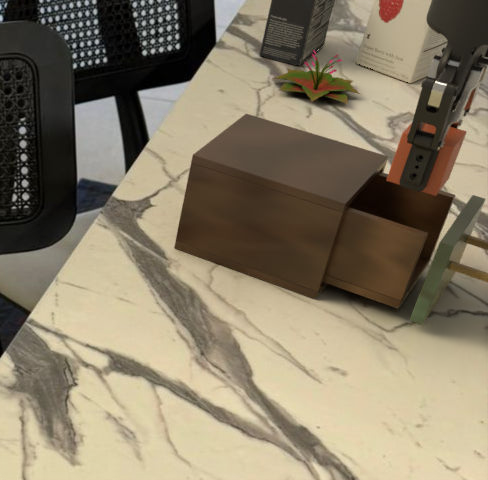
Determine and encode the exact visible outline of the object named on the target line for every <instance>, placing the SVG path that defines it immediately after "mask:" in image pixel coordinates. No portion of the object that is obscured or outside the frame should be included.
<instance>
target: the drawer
mask: <svg viewBox="0 0 488 480" xmlns="http://www.w3.org/2000/svg"><path fill="white" fill-rule="evenodd" d="M388 174H389V173H386V172H383V173H382V172H378V174H377V175H376V176H375V177H374V178H373V179H372V180H371V181H370V182H369V184H368V185H367V186H366V187H365V188H364V189H363V190H362V191H361V193H360V194H359V195H358V196H357V197H356V198H355V199H354V200H353V201H352V203H351V204H350V205H349V206H348V207H347V208H346V209H345V213H344V216H343V219H342V223H341V226H340V229H339V232H338V235H337V238H336V242H335V245H334V248H333V251H332V254H331V257H330V260H329V264H328V267H327V270H326V273H325V276H324V279H323V282H324V283H327V285H331V286H333V287H336V288H338V289H342V290H344V291H346V292H350V293H353V294H355V295H358V296H361V297H364V298H367V299H369V300H372V301H376V302H379V303H381V304H384V305H386V306H390V307H392V308H395V309H399V308H400V307H401V305H402V304H403V303H404V301H405V300H406V298H407V297H408V295H409V294H410V292H411V291H412V290H413V288H414V287H415V285H416V284H417V283H418V281H419V279H420V278H421V276H422V275H423V273H424V272H425V270H426V269H427V268H428V266H429V264H430V266H429V269H428V272H427V274H426V277H425V279H424V282H423V285H422V287H421V289H420V292H419V294H418V297H417V299H416V302H415V303H414V307H413V309H412V312H411V315H410V317H409V321H410V322H414V323H416V324H419V325H423V324H424V323H425V322H426V320H427V318H428V317H429V316H430V313H431V312H432V311H433V309H434V308H435V306H436V305H437V302H438V301H439V299H440V298H441V296H442V295H443V294H444V292H445V290H446V289H447V287H448V285H449V283H450V282H451V281H452V279H453V277H454V276H455V274H456V273H458V274H462V275H464V276H467V277H471V278H474V279H476V280H480V281H483V282H486V283H488V272H487V271H485V270H481V269H477V268H475V267H472V266H469V265H466V264H463V263H460V262H461V259H463V255H464V253H465V250H466V248H467V245H471V246H474V247H477V248H479V249H483V250H486V251H488V240H486V239H483V238H480V237H477V236H474V235H472V233H473V230H474V229H475V226H476V224H477V221H478V219H479V216H480V214H481V212H482V209H483V207H484V204H485V202H486V198H485V197H481V196H478V195H475V194H472V195H471V197H470V198H469V199H468V201H467V202H466V204H465V205H464V206H463V208H462V209H461V210H460V212H459V213H458V215H457V217H456V218H455V220H454V221H453V222H452V224H451V225H450V227H449V229H448V230H447V231H446V233H445V234H444V236H443V237H442V238H441V240H440V236H441V234H442V231H443V229H444V226H445V223H446V221H447V218H448V216H449V214H450V212H451V208H452V206H453V203H454V201H455V198H456V194H454V193H450V192H447V191H445V190H444V191H443V190H442V189H441V190H440V191H439V192H438V194H437V195H436V196H434V195H431V194H427V193H424V192H421V191H420V192H418V191H414V190H411V189H408V188H405V187H402V186H401V185H398V184H395V183H392V182H389V181H387V177H388ZM439 240H440V241H439ZM437 245H438V246H437ZM436 247H437V248H436ZM435 250H436V251H435ZM434 252H435V253H434ZM433 254H434V256H433ZM432 257H433V259H432ZM431 259H432V261H431ZM430 262H431V263H430Z"/></svg>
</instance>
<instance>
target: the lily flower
mask: <svg viewBox="0 0 488 480" xmlns="http://www.w3.org/2000/svg"><path fill="white" fill-rule="evenodd" d="M313 52H314V53H315V54H312V58H313V59H314V61H312V62H311V64H312V66H313V67H314V70H313V69H312V67H311V66H310V65H309V63H308V62H307V61H306V62H304V65H306V67H307V68H308V70H309V71H304V70H299V69H291V68H286V70H287V72H286V73H282V74H280V75H279V76H275V77H273V79H274V80H275V79H276V80H285V81H289V82H286V83H283V84H281V87H280V88H279V89H278V90H277V91H280V92H296V93H297V92H298V93H303V94H306V95H307V97H308V98H309V99H310V102H311V103H313V102H314V101H315V100H318V99H319V98H321V97H324V98H329V99H333V100H336V101H338V102H341V103H344V104H347V105H349V103H348V102H349V101H348V96H347V94H346V93H343V92H344V91H346V92H351V93H354V94H358V95H361V96H362V95H363V94H362V93H361V92H359V91H358V90H357V89H356V88H355V87H354V86H353V85H352V83H354V80H349V79H347V78H345V79H344V78H342V77H335V76H333V75H332V74H333V73H335V72H337V69H333V70H332V68H334V64H336V63H340V62H342V61H343V59H342V58H341V59H337V60H335V61H334V59H336V58H337V57H338V56H339V54H336V55H334V57H333V59H330V60H329V61H328V62H327V63H326V64H325V65H324V66H323V67H321V68H320V62H319V59H318V55H317V52H315V51H313ZM333 61H334V62H333ZM328 70H331V71H328Z"/></svg>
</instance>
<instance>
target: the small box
mask: <svg viewBox="0 0 488 480" xmlns="http://www.w3.org/2000/svg"><path fill="white" fill-rule="evenodd" d="M335 1H336V0H271V1H270V3H269V4H270V5H269V8H268V9H269V10H268V14H267V19H266V23H265V27H264V33H263V36H262V41H261V46H260V50H259V55H260V56H259V57H262V56H264V57H263V58H266V57H268V58H267V59H269V58H270V60H273V59H274V61H277V62H281V61H282V62H281V63H286V64H288V63H290V64H289V65H292V64H295V65H294V66H296V65H298V66H297V67H301V66H302V65H304V64H305V61H306V60H307V59H308V60H309V59H311V58H312V57H313V56H312V54H314V52H313V51H315V52H316V51H317V50H318V49H320V48H321V47H322V46H323V45H324V46H325V42H326V38H327V34H328V30H329V29H328V28H329V25H330V21H331V17H332V12H333V8H334V5H335ZM324 46H323V47H324ZM323 47H322V48H323ZM322 48H321V49H322ZM321 49H320V50H321ZM317 52H318V51H317ZM317 52H316V53H317ZM314 55H315V54H314ZM311 56H312V57H311ZM308 60H307V61H308ZM307 61H306V62H307Z"/></svg>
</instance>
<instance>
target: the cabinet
mask: <svg viewBox="0 0 488 480" xmlns="http://www.w3.org/2000/svg"><path fill="white" fill-rule="evenodd" d="M388 160H389V156H388V155H385V154H381V153H379V152H375V151H372V150H369V149H366V148H362V147H359V146H355V145H352V144H349V143H345V142H343V141H339V140H335V139H332V138H330V137H329V138H328V137H326V136H322V135H319V134H315V133H313V132H309V131H306V130H303V129H298V128H296V127H292V126H290V125H286V124H282V123H279V122H276V121H274V120H273V121H272V120H269V119H266V118H263V117H260V116H256V115H252V114H249V113H245V114H243V115H242V116H241V117H240V118H238V119H237V120H235V121H234V122H233V123H232V124H230V125H229V126H228V127H227V128H225V129H224V130H222V131H221V132H220V133H219V134H218V135H216V136H215V137H214V138H213V139H211V140H210V141H208V142H207V143H206V144H205V145H203V146H202V147H201V148H199V149H198V150H197V151H195V153H193V154H192V157H191V163H190V167H189V172H188V177H187V182H186V187H185V192H184V197H183V202H182V207H181V211H180V216H179V222H178V228H177V231H176V236H175V242H174V247H173V248H174V249H176V250H179V251H181V252H184V253H187V254H189V255H193V256H195V257H198V258H201V259H203V260H206V261H209V262H212V263H214V264H216V265H220V266H223V267H225V268H228V269H231V270H234V271H237V272H239V273H242V274H244V275H247V276H250V277H254V278H257V279H258V280H260V281H261V280H262V281H264V282H267V283H269V284H273V285H275V286H278V287H280V288H283V289H286V290H288V291H291V292H294V293H297V294H300V295H303V296H306V297H308V298H310V299H313V300H316V299H317V298H318V297H319V296H320V294H321V293H322V292H323V290H325V288H326V287H327V286H328V284H327V283H324V282H323V279H324V276H325V273H326V270H327V267H328V264H329V260H330V257H331V254H332V251H333V248H334V245H335V242H336V238H337V235H338V232H339V229H340V226H341V223H342V219H343V216H344V213H345V209H346V208H347V207H348V206H349V205H350V204H351V203H352V201H353V200H354V199H355V198H356V197H357V196H358V195H359V194H360V193H361V191H362V190H363V189H364V188H365V187H366V186H367V185H368V184H369V182H370V181H371V180H372V179H373V178H374V177H375V176H376V175H377V174H378V172H382V173H385V169H386V166H387V163H388Z"/></svg>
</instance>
